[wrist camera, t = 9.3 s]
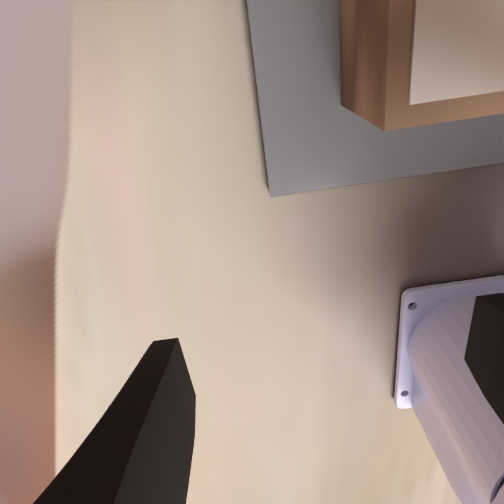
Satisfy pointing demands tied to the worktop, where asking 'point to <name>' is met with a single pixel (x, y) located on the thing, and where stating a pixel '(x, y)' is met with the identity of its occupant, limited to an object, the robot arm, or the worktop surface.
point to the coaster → (340, 111)
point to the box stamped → (421, 60)
